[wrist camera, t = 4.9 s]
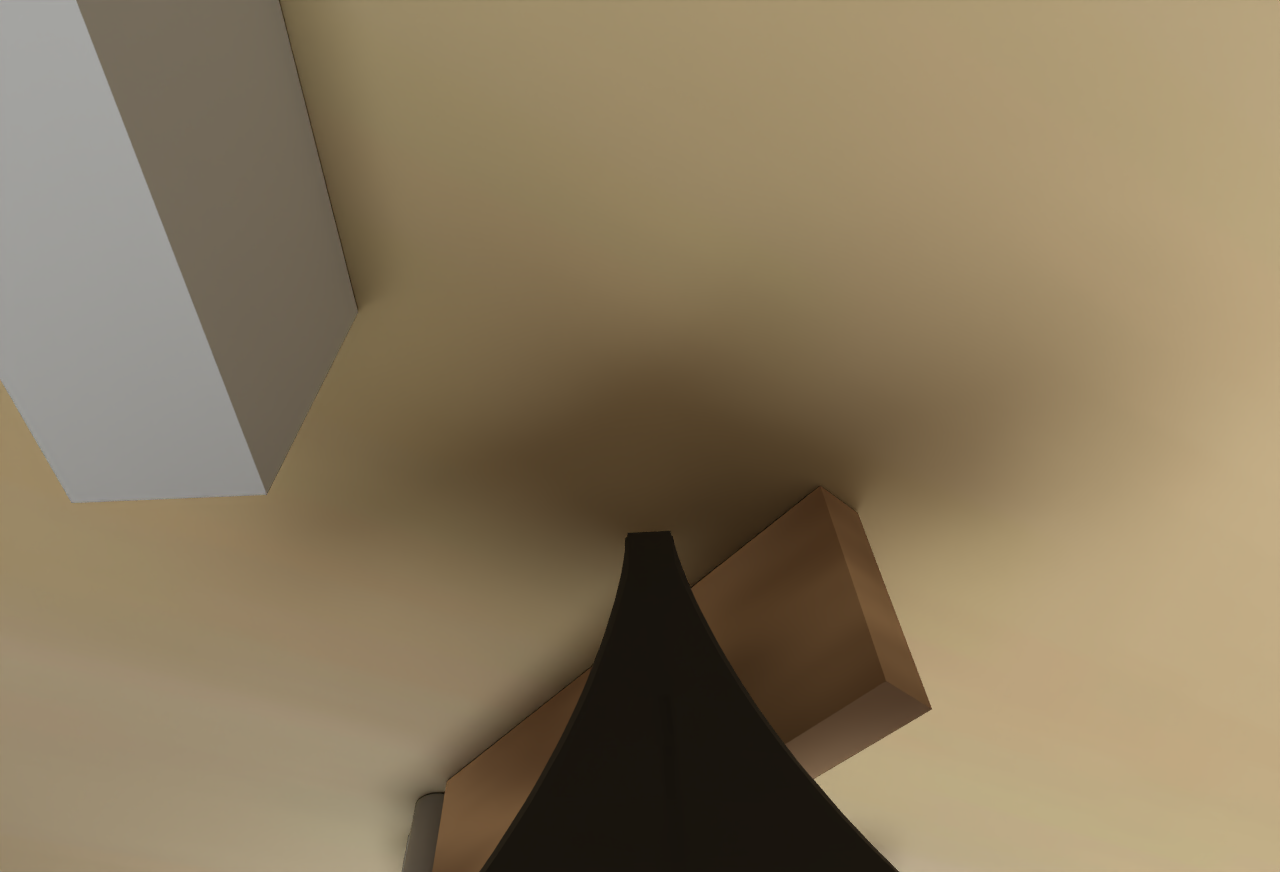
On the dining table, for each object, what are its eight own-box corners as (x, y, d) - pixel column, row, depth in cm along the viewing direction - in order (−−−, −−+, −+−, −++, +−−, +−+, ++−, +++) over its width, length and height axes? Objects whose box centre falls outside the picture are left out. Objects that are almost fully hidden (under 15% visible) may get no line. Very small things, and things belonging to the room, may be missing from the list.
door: (510, 806, 20) (493, 997, 16) (447, 781, 19) (415, 976, 16) (886, 534, 15) (966, 730, 12) (820, 485, 14) (885, 681, 11)
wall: (515, 933, 24) (501, 1127, 20) (446, 937, 24) (420, 1131, 20) (228, -201, 8) (-51, -226, 5) (25, -197, 8) (-408, -218, 5)
